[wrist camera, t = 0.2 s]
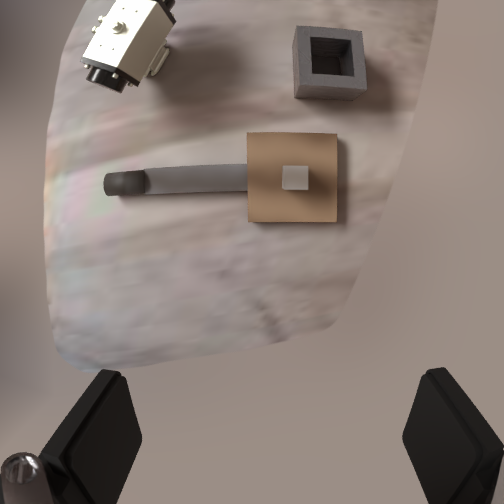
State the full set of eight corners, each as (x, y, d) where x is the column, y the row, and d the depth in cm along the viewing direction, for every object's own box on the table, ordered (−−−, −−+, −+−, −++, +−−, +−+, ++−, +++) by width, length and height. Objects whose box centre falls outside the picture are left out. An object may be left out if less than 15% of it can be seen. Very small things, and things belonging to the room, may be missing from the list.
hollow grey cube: (292, 45, 33) (296, 25, 27) (348, 49, 33) (361, 31, 27) (294, 97, 35) (299, 84, 29) (352, 100, 34) (367, 89, 29)
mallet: (112, 145, 37) (91, 142, 31) (333, 135, 36) (344, 130, 30) (115, 223, 39) (96, 230, 34) (332, 219, 38) (344, 227, 33)
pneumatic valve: (191, 27, 33) (165, -19, 21) (146, 105, 35) (101, 83, 24) (155, 16, 32) (121, -27, 21) (112, 92, 35) (61, 70, 23)
